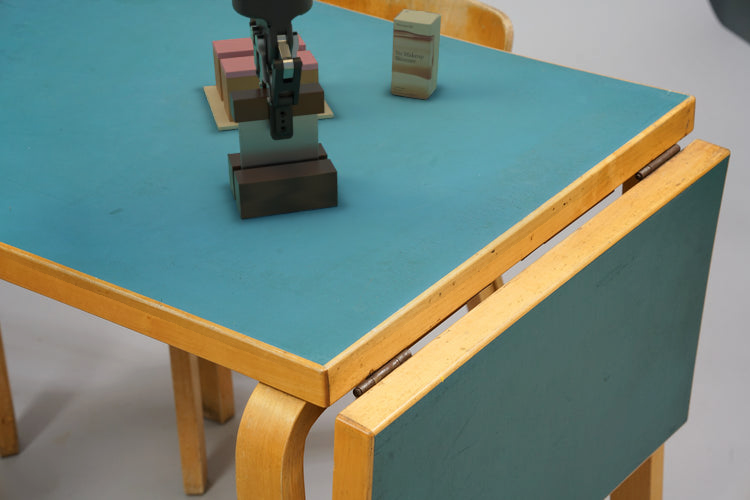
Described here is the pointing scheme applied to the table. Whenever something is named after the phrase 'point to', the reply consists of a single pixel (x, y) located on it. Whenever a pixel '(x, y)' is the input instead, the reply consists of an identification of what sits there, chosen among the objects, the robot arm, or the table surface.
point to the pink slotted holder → (246, 76)
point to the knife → (255, 128)
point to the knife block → (283, 186)
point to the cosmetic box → (415, 53)
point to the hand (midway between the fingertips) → (278, 131)
